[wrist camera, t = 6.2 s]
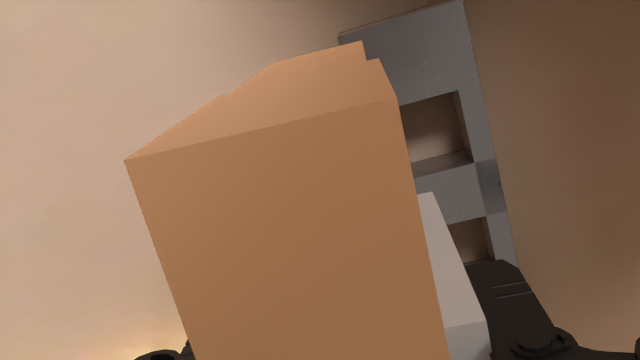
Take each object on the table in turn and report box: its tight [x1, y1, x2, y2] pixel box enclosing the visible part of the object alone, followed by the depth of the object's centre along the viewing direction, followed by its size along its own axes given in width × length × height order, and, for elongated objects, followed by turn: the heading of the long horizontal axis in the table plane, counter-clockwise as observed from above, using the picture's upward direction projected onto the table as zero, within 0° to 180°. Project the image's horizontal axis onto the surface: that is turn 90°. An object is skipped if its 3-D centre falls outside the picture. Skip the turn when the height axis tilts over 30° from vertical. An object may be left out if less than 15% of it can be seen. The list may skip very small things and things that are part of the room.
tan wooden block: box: [124, 40, 450, 360], centre depth 14 cm, size 11×4×12 cm, turn 14°
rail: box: [338, 0, 519, 269], centre depth 35 cm, size 22×7×3 cm, turn 17°
